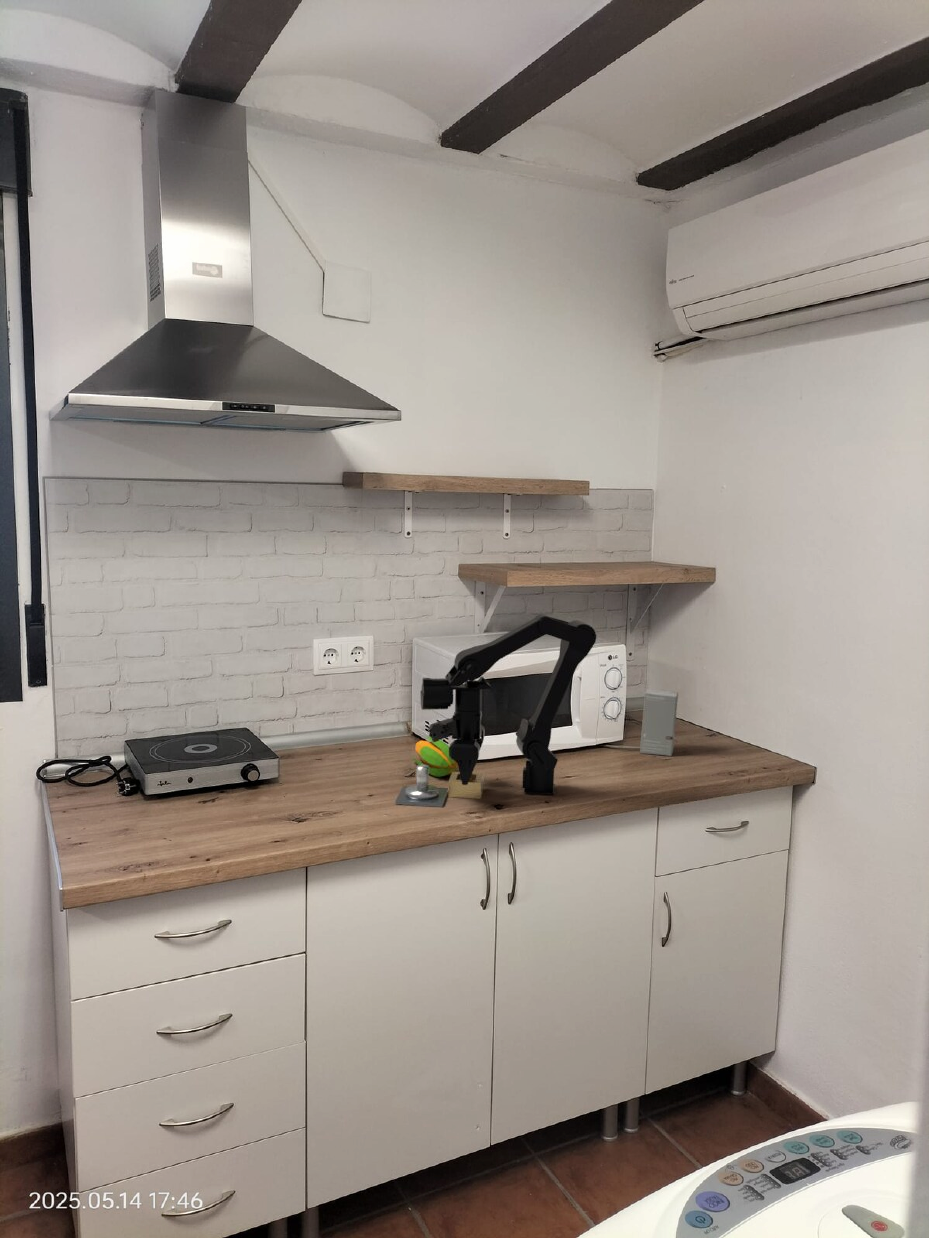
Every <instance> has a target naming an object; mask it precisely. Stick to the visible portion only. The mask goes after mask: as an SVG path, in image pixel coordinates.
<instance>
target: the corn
mask: <svg viewBox="0 0 929 1238" xmlns="http://www.w3.org/2000/svg"><path fill="white" fill-rule="evenodd" d="M426 739H427V741H426V740H419V741H418V742H416V743H415V747H414V749H415V752H416V753H417V756H418V757H419V759H420V760H421V761H422V762H421V761H419V760H418V759H417V758H415V757H414V756H411V758H412V760H413V761H414V762H415V763H416V764H417V765H428V766H429V775H432V776H433V777H436V778H440V777H444V776H448V777H450V776H451V774H452V772H457V770H458V764H457V762H456V761H454V760H453V759H451V758H450V757H449V747H450V745H448V744H447V743H446V742H445V741H443V740H442V739H440V740H439V741H437V742H433V741H432V738H431V737H430V736H427V737H426Z"/></svg>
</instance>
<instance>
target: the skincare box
mask: <svg viewBox="0 0 929 1238" xmlns="http://www.w3.org/2000/svg"><path fill="white" fill-rule="evenodd" d="M643 699H644V702H643V710H642V724H641V733H640V745H639V751H640V754H646V755H647V754H648V755H657V756H668V757H673V756H672V755H673V752H674V744H675V732H676V721H677V710H678V709H677V708H678V699H679V692H675V691H674V692H673V691H666V690H658V689H649V688H647V689H646V691H645V693H644V698H643Z"/></svg>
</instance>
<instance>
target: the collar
mask: <svg viewBox="0 0 929 1238" xmlns="http://www.w3.org/2000/svg"><path fill="white" fill-rule="evenodd" d="M483 791H484V772H472V775H471V777H470V779H469V782H468V784H467V785H463V784H462V781H461V777H460V772H459V771H455V772H452V774H451V775H450V776H449V779H448V797H447V798H463V799H464V798H465V799H482V795H483Z"/></svg>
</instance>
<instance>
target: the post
mask: <svg viewBox="0 0 929 1238" xmlns="http://www.w3.org/2000/svg"><path fill="white" fill-rule="evenodd" d="M429 776H430V774H429V766H428V765H426V764H425V765H419V764H417V765H416V784H413V785H403V786H402V788H401V790H400V791H399V793H398V794H397V797H396V799H395V802H394V803H395V805H396V804H402V805H403V806H419V807H420V806H421V807H438V808H439V807H440V808H443V806H444V804H445V801H446V798H447V795H448V794H449V787H437V786H435V785H432V784H429V783H430V782H429V780H430V779H429V778H430V777H429ZM402 805H401V806H402Z"/></svg>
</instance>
